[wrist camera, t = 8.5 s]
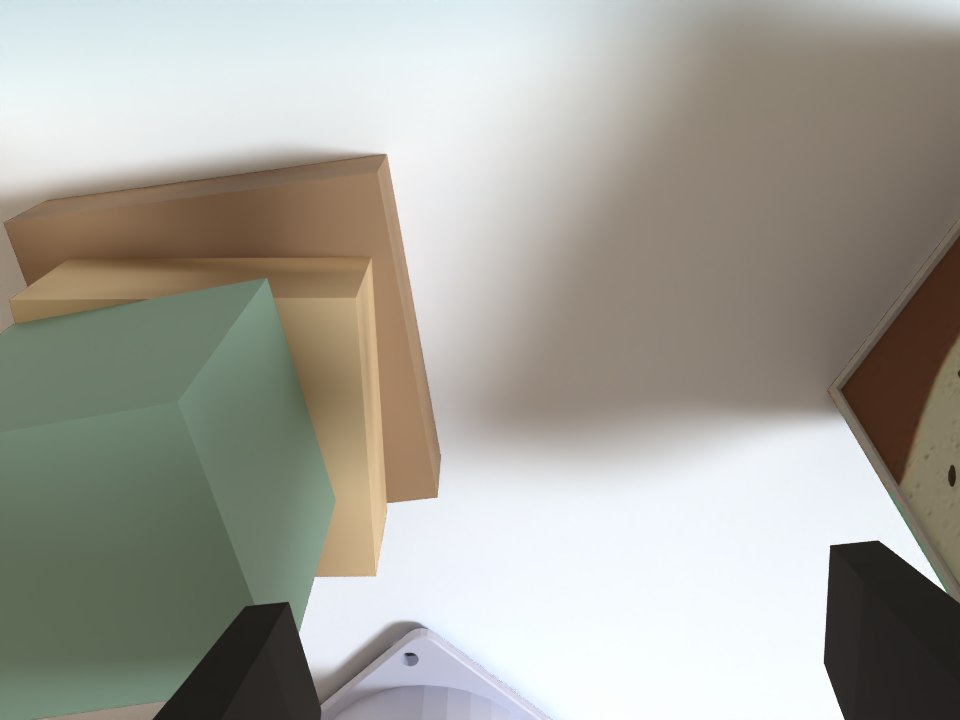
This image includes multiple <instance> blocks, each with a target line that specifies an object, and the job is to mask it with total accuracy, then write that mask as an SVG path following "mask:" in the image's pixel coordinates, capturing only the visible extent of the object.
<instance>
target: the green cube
mask: <svg viewBox="0 0 960 720" xmlns="http://www.w3.org/2000/svg"><path fill="white" fill-rule="evenodd" d="M335 502H336V500H335V496H334V493H333V490H332V487H331V483H330V480H329V477H328V474H327V470H326V467H325V464H324V461H323V458H322V454H321V451H320V448H319V445H318V441H317V438H316V435H315V432H314V428H313V425H312V422H311V419H310V415H309V412H308V409H307V406H306V403H305V399H304V396H303V393H302V390H301V386H300V383H299V380H298V377H297V373H296V370H295V367H294V364H293V360H292V357H291V354H290V351H289V348H288V344H287V341H286V338H285V335H284V331H283V328H282V325H281V322H280V318H279V315H278V312H277V309H276V305H275V302H274V299H273V296H272V293H271V289H270V286H269V283H268V280H267V278H263V279H258V280H252V281H247V282H241V283H236V284H230V285H225V286H219V287H214V288H208V289H203V290H197V291H192V292H186V293H181V294H175V295H170V296H164V297H159V298H153V299H148V300H142V301H137V302H132V303H126V304H121V305H115V306H110V307H104V308H99V309H93V310H88V311H82V312H77V313H71V314H66V315H61V316H55V317H50V318H44V319H39V320H33V321H28V322H22V323H17V324H13V325H11V326H10V327H9V328H7V329H6V330H5V331H3V332H2V333H1V334H0V720H34V719H41V718H48V717H55V716H62V715H69V714H76V713H83V712H90V711H97V710H104V709H111V708H118V707H125V706H132V705H139V704H146V703H153V702H160V701H167V700H169V699H170V698H171V697H172V696H173V694H174V693H175V692H176V691H177V690H178V688H179V687H180V686H181V685H182V684H183V682H184V681H185V680H186V679H187V677H188V676H189V675H190V674H191V672H192V671H193V670H194V669H195V667H196V666H197V665H198V664H199V662H200V661H201V660H202V659H203V657H204V656H205V655H206V654H207V652H208V651H209V650H210V649H211V647H212V646H213V645H214V644H215V642H216V641H217V640H218V639H219V637H220V636H221V635H222V634H223V633H224V631H225V630H226V629H227V628H228V626H229V625H230V624H231V623H232V622H233V620H234V619H235V618H236V617H237V616H238V614H239V613H240V612H241V611H242V610H243V608H244V607H245V606H251V605H261V604H271V603H280V602H289V604H290V607H291V610H292V614H293V617H294V620H295V624H296V627H297V630H298V634H299V631H300V628H301V624H302V620H303V617H304V613H305V610H306V606H307V603H308V599H309V595H310V592H311V588H312V585H313V581H314V577H315V574H316V570H317V567H318V563H319V560H320V556H321V552H322V549H323V545H324V542H325V538H326V535H327V531H328V527H329V524H330V520H331V517H332V513H333V509H334V506H335Z"/></svg>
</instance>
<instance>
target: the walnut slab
mask: <svg viewBox="0 0 960 720" xmlns="http://www.w3.org/2000/svg"><path fill="white" fill-rule="evenodd" d="M4 225H5V228H6V231H7V233H8V236H9V239H10V241H11V244H12V246H13V249H14V252H15V254H16V257H17V260H18V262H19V265H20V268H21V270H22V273H23V276H24V278H25V281H26V283H27V286H28V287H29V286H30V285H31V284H33V283H34V282H36V281H37V280H39V279H40V278H42V277H43V276H45V275H46V274H47V273H49V272H50V271H52V270H53V269H55V268H56V267H58V266H59V265H61V264H62V263H63V262H65V261H66V260H68V259H157V258H340V257H372V273H373V290H374V306H375V322H376V338H377V354H378V370H379V387H380V403H381V419H382V435H383V451H384V467H385V484H386V500H387V503H393V502H402V501H410V500H419V499H428V498H437V497H438V485H439V473H440V461H441V455H440V449H439V443H438V438H437V432H436V426H435V421H434V415H433V410H432V404H431V398H430V393H429V387H428V382H427V376H426V370H425V365H424V359H423V354H422V348H421V342H420V337H419V331H418V326H417V320H416V314H415V309H414V303H413V298H412V292H411V286H410V281H409V275H408V270H407V264H406V258H405V253H404V247H403V241H402V236H401V230H400V225H399V219H398V213H397V208H396V202H395V197H394V191H393V185H392V180H391V174H390V169H389V163H388V157H387V154H385V155H378V156H371V157H363V158H356V159H349V160H341V161H334V162H327V163H319V164H312V165H305V166H297V167H290V168H283V169H275V170H268V171H261V172H254V173H246V174H239V175H232V176H224V177H217V178H210V179H202V180H195V181H188V182H180V183H173V184H166V185H158V186H151V187H144V188H137V189H129V190H122V191H115V192H107V193H100V194H93V195H85V196H78V197H71V198H63V199H56V200H49V201H45V202H43V203H41V204H39V205H37V206H35V207H34V208H32V209H30V210H28V211H26V212H24V213H22V214H20V215H18V216H16V217H14V218H12V219H10V220H8V221H6V222H4Z"/></svg>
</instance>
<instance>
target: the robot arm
mask: <svg viewBox="0 0 960 720" xmlns="http://www.w3.org/2000/svg"><path fill="white" fill-rule="evenodd" d="M405 653H414V654H416V655H415V656H407V655H405ZM824 665H825V667H826V670H827V673H828V676H829V679H830V681H831V684H832V687H833V690H834V692H835V695H836V698H837V701H838V704H839V706H840V709H841V711H842V714H843V717H844V719H845V720H960V603H959V602H957V601H956V600H955V599H954V598H952V597H951V596H950V595H948V594H947V593H946V592H944V591H943V590H942V589H940V588H939V587H938V586H937V585H935V584H934V583H933V582H931V581H930V580H929V579H928V578H926V577H925V576H924V575H922V574H921V573H920V572H919V571H917V570H916V569H915V568H914V567H912V566H911V565H910V564H908V563H907V562H906V561H905V560H903V559H902V558H901V557H899V556H898V555H897V554H895V553H894V552H893V551H892V550H890V549H889V548H888V547H886V546H885V545H884V544H882V543H881V542H880V541H868V542H859V543H849V544H839V545H830V559H829V577H828V596H827V614H826V632H825V650H824ZM153 720H552V719H551V718H549V717H548V716H547V715H545V714H544V713H543V712H541V711H540V710H539V709H537V708H536V707H535V706H533V705H532V704H530V703H529V702H528V701H526V700H525V699H524V698H522V697H521V696H520V695H518V694H517V693H516V692H514V691H513V690H512V689H510V688H509V687H508V686H506V685H505V684H503V683H502V682H501V681H499V680H498V679H497V678H495V677H494V676H493V675H491V674H490V673H489V672H487V671H486V670H485V669H483V668H482V667H481V666H479V665H478V664H477V663H475V662H474V661H472V660H471V659H470V658H468V657H467V656H466V655H464V654H463V653H462V652H460V651H459V650H458V649H456V648H455V647H454V646H452V645H451V644H450V643H448V642H447V641H445V640H444V639H443V638H441V637H440V636H439V635H437V634H436V633H435V632H433V631H431V630H429V629H425V628H418V629H414V630H412V631H410V632H409V633H408V634H406V635H405V636H404V637H403V638H401V639H400V640H399V641H398V642H397V643H395V644H394V645H393V646H392V647H391V648H389V649H388V650H387V651H386V652H384V653H383V654H382V655H381V656H380V657H378V658H377V659H376V660H375V661H374V662H372V663H371V664H370V665H369V666H367V667H366V668H365V669H364V670H363V671H361V672H360V673H359V674H358V675H357V676H355V677H354V678H353V679H352V680H351V681H349V682H348V683H347V684H346V685H344V686H343V687H342V688H341V689H340V690H338V691H337V692H336V693H335V694H334V695H332V696H331V697H330V698H329V699H327V700H326V701H325V702H324V703H323V704H321V705H320V704H319V700H318V697H317V694H316V690H315V687H314V684H313V680H312V677H311V674H310V670H309V667H308V664H307V660H306V657H305V654H304V650H303V647H302V644H301V640H300V637H299V634H298V630H297V627H296V624H295V620H294V617H293V614H292V610H291V607H290V604H289V602H280V603H271V604H261V605H251V606H245V607H244V608H243V610H242V611H241V612H240V613H239V614H238V616H237V617H236V618H235V619H234V620H233V622H232V623H231V624H230V625H229V626H228V628H227V629H226V630H225V631H224V633H223V634H222V635H221V636H220V637H219V639H218V640H217V641H216V642H215V644H214V645H213V646H212V647H211V649H210V650H209V651H208V652H207V654H206V655H205V656H204V657H203V659H202V660H201V661H200V662H199V664H198V665H197V666H196V667H195V669H194V670H193V671H192V672H191V674H190V675H189V676H188V677H187V679H186V680H185V681H184V682H183V684H182V685H181V686H180V687H179V688H178V690H177V691H176V692H175V693H174V694H173V696H172V697H171V698H170V699H169V700H168V702H167V703H166V704H165V705H164V706H163V708H162V709H161V710H160V711H159V712H158V714H157V715H156V716H155V717H154V718H153Z"/></svg>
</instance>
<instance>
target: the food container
mask: <svg viewBox="0 0 960 720" xmlns="http://www.w3.org/2000/svg"><path fill="white" fill-rule="evenodd" d="M828 392H829V394H830V396H831V397H832V399H833V401H834V402H835V404H836V406H837V407H838V409H839V411H840V412H841V414H842V416H843V418H844V419H845V421H846V423H847V424H848V426H849V428H850V429H851V431H852V433H853V434H854V436H855V438H856V440H857V441H858V443H859V445H860V446H861V448H862V450H863V451H864V453H865V455H866V456H867V458H868V460H869V462H870V463H871V465H872V467H873V468H874V470H875V472H876V473H877V475H878V477H879V478H880V480H881V482H882V484H883V485H884V487H885V489H886V490H887V492H888V494H889V495H890V497H891V499H892V500H893V502H894V504H895V506H896V507H897V509H898V511H899V512H900V514H901V516H902V517H903V519H904V521H905V523H906V524H907V526H908V528H909V529H910V531H911V533H912V534H913V536H914V538H915V539H916V541H917V543H918V545H919V546H920V548H921V550H922V551H923V553H924V555H925V556H926V558H927V560H928V561H929V563H930V565H931V567H932V568H933V570H934V572H935V573H936V575H937V577H938V578H939V580H940V582H941V583H942V585H943V587H944V589H945V590H946V592H947V594H948V595H950V596H951V597H952V598H954V599H955V600H956V601H957V602H959V603H960V218H959V219H958V220H957V222H956V223H955V224H954V226H953V227H952V228H951V230H950V231H949V232H948V234H947V235H946V236H945V237H944V239H943V240H942V241H941V243H940V244H939V245H938V247H937V248H936V249H935V251H934V252H933V253H932V254H931V256H930V257H929V258H928V260H927V261H926V262H925V264H924V265H923V266H922V268H921V269H920V270H919V271H918V273H917V274H916V275H915V277H914V278H913V279H912V281H911V282H910V283H909V285H908V286H907V287H906V288H905V290H904V291H903V292H902V294H901V295H900V296H899V298H898V299H897V300H896V302H895V303H894V304H893V305H892V307H891V308H890V309H889V311H888V312H887V313H886V315H885V316H884V317H883V319H882V320H881V321H880V322H879V324H878V325H877V326H876V328H875V329H874V330H873V332H872V333H871V334H870V336H869V337H868V338H867V339H866V341H865V342H864V343H863V345H862V346H861V347H860V349H859V350H858V351H857V353H856V354H855V355H854V356H853V358H852V359H851V360H850V362H849V363H848V364H847V366H846V367H845V368H844V370H843V371H842V372H841V373H840V375H839V376H838V377H837V379H836V380H835V381H834V383H833V384H832V385H831V387H830V388H829V389H828Z"/></svg>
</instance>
